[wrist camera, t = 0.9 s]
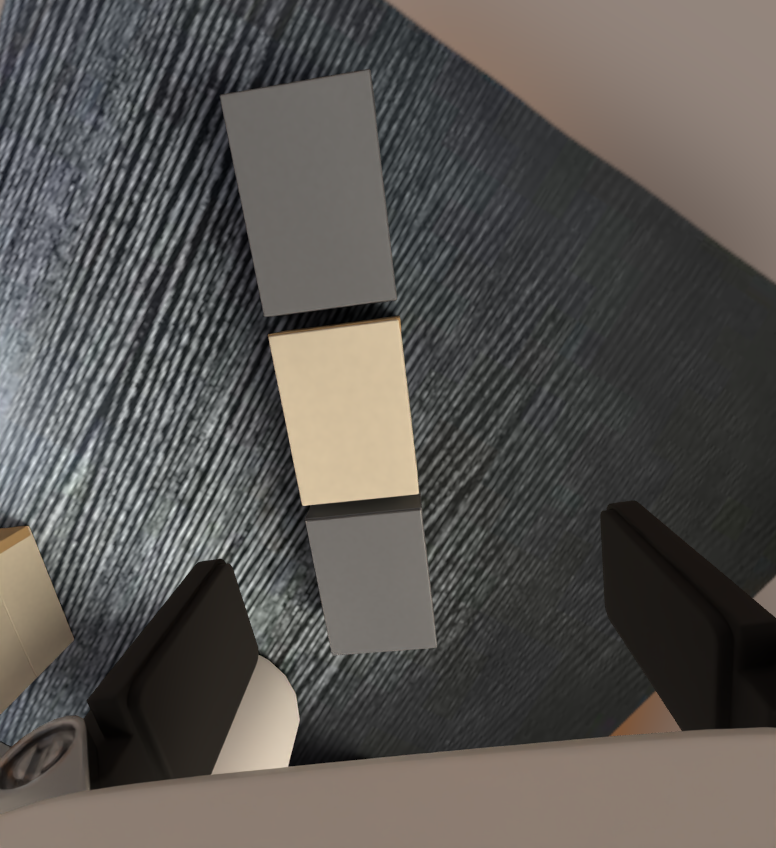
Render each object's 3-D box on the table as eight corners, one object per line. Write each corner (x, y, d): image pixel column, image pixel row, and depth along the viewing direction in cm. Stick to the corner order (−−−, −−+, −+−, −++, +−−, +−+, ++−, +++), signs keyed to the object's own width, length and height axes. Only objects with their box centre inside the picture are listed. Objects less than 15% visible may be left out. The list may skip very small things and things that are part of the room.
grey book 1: (245, 123, 23) (217, 92, 19) (374, 102, 22) (369, 65, 19) (281, 315, 25) (262, 317, 22) (397, 300, 25) (397, 299, 21)
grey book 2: (315, 494, 28) (303, 520, 25) (419, 484, 28) (421, 508, 25) (339, 618, 31) (331, 655, 28) (434, 610, 31) (437, 647, 27)
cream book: (284, 330, 26) (266, 334, 22) (399, 315, 25) (399, 317, 22) (313, 482, 28) (300, 506, 25) (418, 471, 28) (420, 494, 24)
